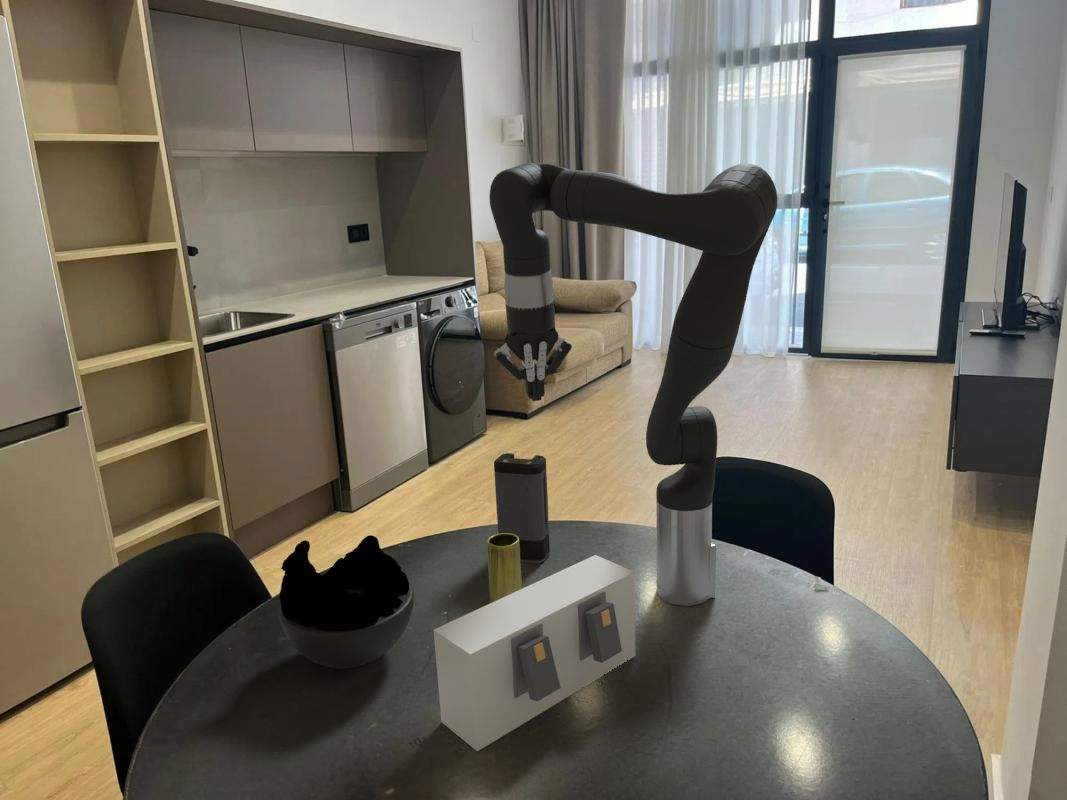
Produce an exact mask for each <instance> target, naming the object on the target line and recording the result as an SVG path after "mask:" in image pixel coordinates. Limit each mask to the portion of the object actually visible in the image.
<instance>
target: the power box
mask: <svg viewBox="0 0 1067 800" xmlns="http://www.w3.org/2000/svg"><path fill="white" fill-rule="evenodd" d="M635 586H636V583H635V571H634V570H631V569H628V568H626V567H625V566H622V565H620V564H617V563H615V562H612V561H611V560H608V559H606V558H604V557H601V556H598V555H596V554H594V555H593V556H590V557H587V558H585V559H584V560H582V561H578V563H575V564H573V565H571V566H568V567H566V568H564V569H562V570H560V571H558V572H556V573H553V574H551V575H548V576H547V577H545V578H542V579H540V580H537V581H536V582H533V583H531V584H530V585H527V586H525V587H522V589H521V590H518V591H516V592H514V593H512V594H510V595H508V596H505V597H503V598H501V599H499V600H497V601H495V602H492V603H490V602H489V604H486V605H484V606H482V607H480V608H478V609H475V610H473V611H471V612H469V613H467V614H464V615H462V616H460V617H458V618H455V619H454V620H452V621H449V622H447V623H445V624H443V625H441V626H439V627H437V628H434V629H433V637H434V649H435V663H436V674H437V676H436V677H437V685H438V697H439V698H438V699H439V710H440V719H441V720H440V721H441V723H442V724H443V725H444V726H446V727H447V728H448V729H449V730H450V731H451V732H453V733H454V734H456V735H457V736H458V737H459V738H461V740H463V741H464V742H465V743H466V744H468V745H469V746H470V747H471V748H473V750H475V751H476V752H479V751H480V750H483V749H484V748H485V747H487V746H488V745H491V744H492V743H494V742H495V741H497V740H498V739H500V738H502V737H504V736H505V735H507V734H508V733H511V732H512V731H513V730H516V729H517V728H518V727H520V726H522V725H524V724H525V723H526V722H529V721H530V720H532V719H534V718H535V717H537V716H538V715H540V714H542V713H543V712H546V711H547V710H548V709H550V708H552V707H553V706H555V705H556V704H558V703H560V702H562V701H563V700H565V699H566V698H568V697H570V696H571V695H573V694H575V693H576V692H578V691H580V690H581V689H583V688H585V687H586V686H589V685H590V684H592V683H594V682H595V681H597V680H598V679H600V678H601V677H603V676H605V675H606V674H608V673H609V671H610V672H611V671H613V670H615V669H617V668H618V667H620V666H621V665H623V664H624V662H625V663H626V662H628V661H629V660H631V659H633V658H635V657H636V600H635V599H636V598H635V597H636V595H635V594H636V592H635V591H636V590H635V589H636V588H635ZM604 602H609V603H613V604H614V609H615V615H616V620H617V626H618V632H619V637H620V643H621V649H622V651H621V652H620V653H618V654H616V655H615V656H613V657H611V658H610V659H608V660H606V661H604V662H603V663H601V662H598V661H594V658H593V652H592V647H591V641H590V636H589V630H588V625H587V619H586V614H585V612H587V611H589V610H591V609H593V608H594V607H596V606H598V605H600V604H602V603H604ZM540 635H543V636H548V638H549V642H550V646H551V650H552V654H553V658H554V662H555V667H556V671H557V675H558V679H559V683H560V687H561V688H560V689H558V690H556V691H555V692H553V693H551V694H550V695H548V696H546V697H545V698H543V699H541V700H539V701H534V700H531V699H530V697H529V693H528V689H527V685H526V681H525V677H524V673H523V668H522V664H521V660H520V656H519V652H518V648H517V647H518V646H520V645H522V644H524V643H526V642H528V641H530V640H532V639H534V638H536V637H538V636H540ZM627 660H628V661H627ZM622 663H623V664H622ZM619 665H620V666H619ZM617 666H618V667H617ZM614 668H615V669H614ZM612 669H613V670H612ZM604 674H605V675H604Z"/></svg>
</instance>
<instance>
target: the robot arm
mask: <svg viewBox="0 0 1067 800" xmlns="http://www.w3.org/2000/svg"><path fill="white" fill-rule="evenodd" d="M488 198H489V205H490V207H489V208H490V211H491V215H492V217H493V220H494V223H495V227H496V229H497V230H496V231H497V232H498V233H497V234H498V235H499V238H500V240H501V243H502V251H503V252H502V253H503V264H504V266H503V267H504V283H503V284H504V285H503V289H504V300H505V301H504V303H505V313H506V328H507V334H506V336H505V339H504V342H505V343H503V344H502V346H501V347H500V348H495V349H494V350H493V355H494V357H495V358H496V360H497V361H498V362H499V363H500V364H501V365H502V366H503V367H504V368H505V369H506V370H507V371H508V372H509V373H511V375H512V376H514V377H515V378H516V379H517V380H518V381H520V380H524V382H525V383H524V384H525V393H526V396H527V398H528V399H531V401H532V402H538V401H542V399H543V398H542V397H545V395H546V393H545V392H546V391H545V390H546V389H545V379H546V377H548V376H553V375H554V374H555V373H556V371H557V370H558V368H559V367H560V365H561V364H562V363H563V361H564V360H565V358H566V357H567V356H568V354H569V353H570V351H571V349H572V347H573V346H572V344H571V342H570V341H569V340H568V339H567V338H566V337H565V338H562V337H560V336H559V333H558V331H557V330H556V318H555V317H556V316H555V299H554V298H555V297H554V296H555V290H554V281H553V276H552V270H551V251H550V250H551V249H550V240H549V236H548V235H547V233H546V232H545V231H543V230H541V229H539V228H536V226H535V222H534V217H533V215H534V213H536V212H541V211H544V212H545V211H547V212H553V213H554V215H556V216H557V217H558V218H559V219H561V220H564V221H568V222H573V223H580V224H588V225H599V226H608V227H612V228H613V227H614V228H619V229H625V230H629V231H632V232H637V233H641V234H645V235H648V236H651V237H656V238H659V239H662V240H666V241H669V242H673V243H676V244H680V245H682V246H686V247H688V248H692V249H695V250H699V251H701V256H700V258H699V261H698V263H697V266H696V267H695V269H694V271H693V273H692V275H691V278H690V279H689V281H688V284H687V286H686V287H685V290H684V293H683V295H682V297H681V299H680V301H679V305H678V306H677V310H676V312H675V315H674V320H673V324H672V328H671V332H670V333H671V334H670V336H669V337H670V338H669V343H668V348H667V354H666V360H665V363H664V364H665V365H664V369H663V372H662V378H661V381H660V384H659V387H658V391H657V393H656V396H655V399H654V402H653V404H652V408H651V411H650V414H649V417H648V420H647V421H648V422H647V425H646V426H647V427H646V433H645V444H646V451H647V454H648V456H649V458H650V459H651V460H652V462H654V463H655V464H656V465H659V466H676V465H677V466H678V465H683V466H682V467H680V469H678V470H677V471H676V472H674V473H672V474H671V475H668V476H666V477H664V478H663V479H661V480H660V481H659V483H658V484H657V486H656V493H655V494H656V495H655V497H656V502H655V503H656V507H655V508H656V593H657V597H659V598H660V599H661V600H663V601H664V602H666V603H669V604H672V605H676V606H685V607H688V606H696V605H700V604H703V603H705V602H707V601H708V600H709V599H712V598H713V599H714V598H716V583H717V582H716V580H717V579H716V578H717V577H716V575H717V571H716V570H717V546H716V544H715V543H713V542H712V537H713V533H712V532H713V531H712V530H713V525H712V524H713V493H714V489H715V485H716V484H715V482H716V466H717V465H716V464H717V454H718V453H717V452H718V427H717V421H716V418H715V416H714V414H713V412H712V411H711V410H710V409H709V408H708V407H706V406H700V405H699V406H689V405H691V403H692V402H693V401H694V400H695V399H696V398H697V397H698V396H699V395H700V394H701V393H702V392H704V390H706V388H708V387H709V386H710V385H711V384H712V383H714V382H715V380H716V379H717V378H719V376H720V375H721V374H722V373H723V371H725V369H726V368H727V366H728V364H729V362H730V361H731V358H732V356H733V351H734V348H735V344H736V340H737V337H738V334H739V331H740V325H741V322H742V317H743V314H744V308H745V306H746V301H747V295H748V291H749V286H750V282H751V277H752V272H753V268H754V265H755V263H756V260H757V257H758V255H759V252H760V251H761V247H762V246H763V243H764V240H765V237H766V235H767V234H768V230H769V229H770V226H771V225H772V221H773V220H774V217H775V216H776V213H777V208H778V193H777V188H776V185H775V182H774V181H773V179H772V177H771V175H770V174H769V173H768V172H767V171H766V170H764V169H763V168H762V167H760V166H759V165H756V164H753V163H739V164H738V163H737V164H735V165H733V166H730V167H728V168H727V169H724V170H723V171H722V172H720V173H718V174H717V175H716V176H715V177H714V178H713V179H712V180H711V181H710V183H708V185H707V186H706V187H705V188H704V189H703V190H702V191H701V192H700V191H699V192H693V193H692V192H687V193H669V192H661V191H658V190H653V189H651V188H647V187H645V186H644V185H641V184H640V183H637V182H635V181H633V180H632V179H629V178H627V177H625V176H622V175H619V174H616V173H610V172H603V171H593V170H592V171H590V170H577V169H574V170H573V169H572V170H570V169H569V168H565V167H562V166H559V165H556V164H551V163H546V162H526V163H522V164H520V165H516V166H514V167H511V168H506V169H504V170H502V171H500V172H499V173H497V174H496V176H494V178H493V179H492V181H491V184H490V189H489V197H488ZM553 347H554V349H553ZM552 349H553V351H552ZM510 351H511V352H512V353H513V354H514V355H515V356H516V357H517V358H518V360H520V362H521V364H522V368H519V366H517V364H516V363H514V362H513V361H512V359H511V357H512V356H511V354H510ZM551 351H552V353H551ZM550 353H551V354H550ZM549 354H550V356H549ZM548 356H549V357H548ZM547 357H548V359H547Z"/></svg>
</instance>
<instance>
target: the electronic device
mask: <svg viewBox="0 0 1067 800" xmlns="http://www.w3.org/2000/svg"><path fill="white" fill-rule="evenodd" d="M493 467H494V468H493V470H494V487H495V490H494V491H495V502H496V503H495V504H496V505H495V506H496V518H497V519H496V520H497V534H500V533H511V534H515V535H516V536H518V537H519V544H520V563H529V564H530V563H531V564H541V563H543V562H544V561H545V560H546V559H547V557H548V556H549V555H550V552H551V551H550V550H551V549H550V548H551V546H550V528H549V527H550V526H549V525H550V524H549V499H548V497H549V496H548V481H547V480H548V477H547V476H548V475H547V458H546V457H544V456H543V455H539V454H535V455H534V456H533V457H532V458H516V457H515V453H512V452H511V453H509V452H508V453H503V454H501V455H500V456H499V457H497V458H496V459H495V460H494V461H493Z"/></svg>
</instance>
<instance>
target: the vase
mask: <svg viewBox="0 0 1067 800" xmlns="http://www.w3.org/2000/svg"><path fill="white" fill-rule="evenodd" d="M486 542H487V547H486V548H487V567H488V587H489V588H488V589H489V604H490V603H492V602H495V601H497V600H499V599H501V598H503V597H505V596H508V595H510V594H512V593H514V592H516V591H518V590H521V589H523V582H522V581H523V580H522V569H521V568H522V566H521V565H522V564H521V563H522V562H520V544H519V537H518V536H516V535H515V534H511V533H500V534H498V533H496V534H493V535H491V536H489V537H488V538H487V540H486Z"/></svg>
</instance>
